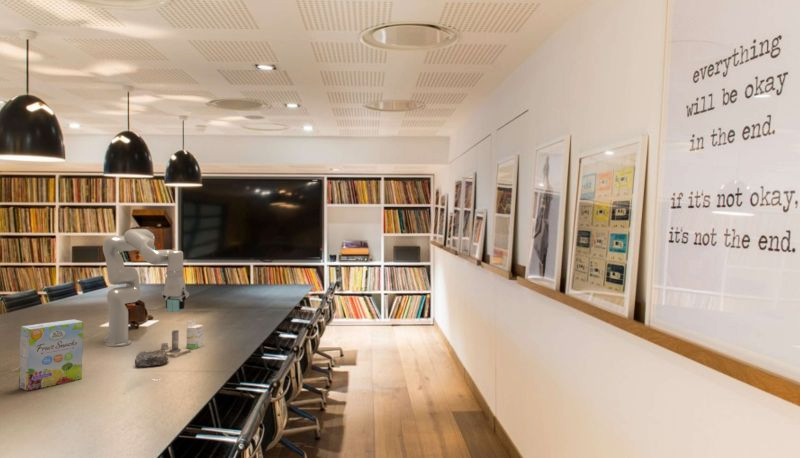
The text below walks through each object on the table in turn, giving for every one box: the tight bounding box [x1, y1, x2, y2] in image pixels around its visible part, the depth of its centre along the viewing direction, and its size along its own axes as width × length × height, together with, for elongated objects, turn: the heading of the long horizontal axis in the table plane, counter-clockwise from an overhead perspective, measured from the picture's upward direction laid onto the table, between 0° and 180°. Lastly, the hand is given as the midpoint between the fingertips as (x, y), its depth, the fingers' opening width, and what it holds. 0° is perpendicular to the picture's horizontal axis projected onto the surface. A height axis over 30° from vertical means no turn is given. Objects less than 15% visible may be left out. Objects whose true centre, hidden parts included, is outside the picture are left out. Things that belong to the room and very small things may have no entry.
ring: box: [166, 297, 184, 313], centre depth 278 cm, size 7×7×6 cm
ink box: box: [185, 319, 204, 350], centre depth 293 cm, size 9×5×15 cm, turn 168°
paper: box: [152, 377, 162, 382], centre depth 231 cm, size 25×17×1 cm
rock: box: [134, 349, 170, 368], centre depth 260 cm, size 13×6×15 cm
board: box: [154, 329, 192, 358], centre depth 280 cm, size 16×12×12 cm
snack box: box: [18, 318, 84, 392], centre depth 227 cm, size 22×9×26 cm, turn 148°
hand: (175, 308), depth 279 cm, fingers closed on ring, 7 cm apart
